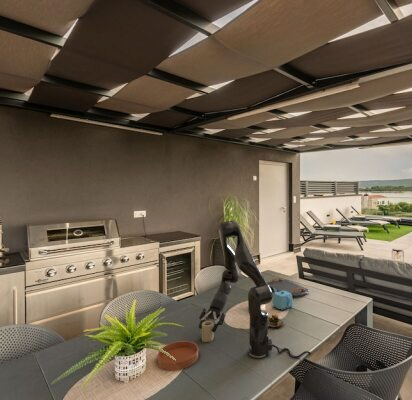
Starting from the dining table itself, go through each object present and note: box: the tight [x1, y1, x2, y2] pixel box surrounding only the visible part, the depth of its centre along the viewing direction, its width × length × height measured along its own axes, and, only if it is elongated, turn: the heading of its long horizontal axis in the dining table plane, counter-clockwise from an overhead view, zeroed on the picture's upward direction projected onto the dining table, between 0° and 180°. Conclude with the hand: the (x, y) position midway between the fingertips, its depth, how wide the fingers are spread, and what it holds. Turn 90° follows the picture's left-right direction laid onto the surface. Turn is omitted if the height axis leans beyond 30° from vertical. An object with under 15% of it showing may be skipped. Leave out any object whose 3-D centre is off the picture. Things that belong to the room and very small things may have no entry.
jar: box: [201, 320, 215, 343], centre depth 148 cm, size 6×6×8 cm
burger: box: [268, 311, 284, 329], centre depth 166 cm, size 12×12×8 cm
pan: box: [157, 340, 200, 371], centre depth 131 cm, size 18×18×4 cm
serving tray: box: [267, 277, 310, 297], centre depth 228 cm, size 39×23×6 cm, turn 34°
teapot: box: [271, 288, 294, 311], centre depth 194 cm, size 12×18×12 cm
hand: (206, 330), depth 147 cm, fingers open, 8 cm apart
